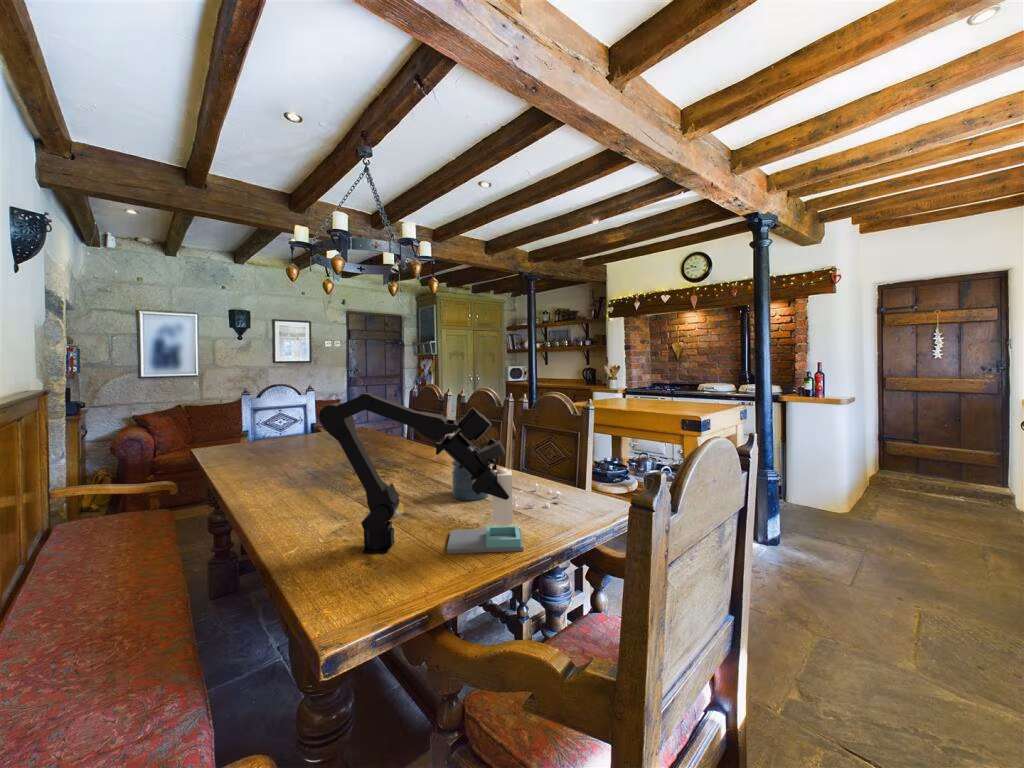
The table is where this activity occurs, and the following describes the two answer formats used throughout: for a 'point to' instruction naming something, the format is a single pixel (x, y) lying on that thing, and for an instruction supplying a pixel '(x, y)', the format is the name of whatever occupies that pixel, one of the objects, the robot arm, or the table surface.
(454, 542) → the baseplate
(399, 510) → the bread roll
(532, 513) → the table surface
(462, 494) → the canister
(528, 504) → the game piece set
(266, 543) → the table surface
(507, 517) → the column
